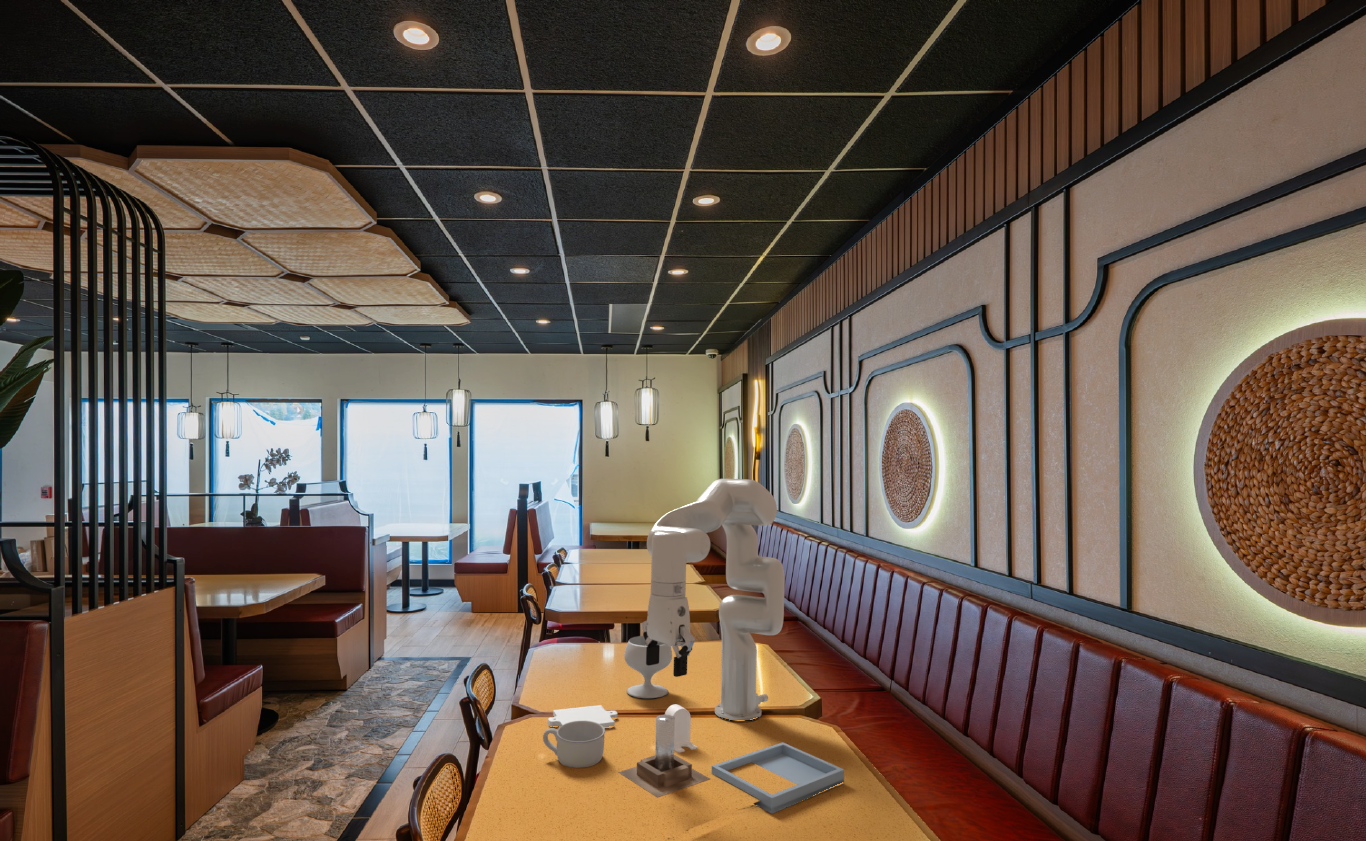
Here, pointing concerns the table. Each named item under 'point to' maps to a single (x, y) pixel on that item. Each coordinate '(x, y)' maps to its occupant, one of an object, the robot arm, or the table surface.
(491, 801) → the table surface
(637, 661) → the chalice
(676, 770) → the brown square socket base
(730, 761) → the tray
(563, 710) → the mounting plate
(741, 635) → the robot arm
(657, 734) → the pin
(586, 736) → the teacup
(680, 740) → the cable organizer
